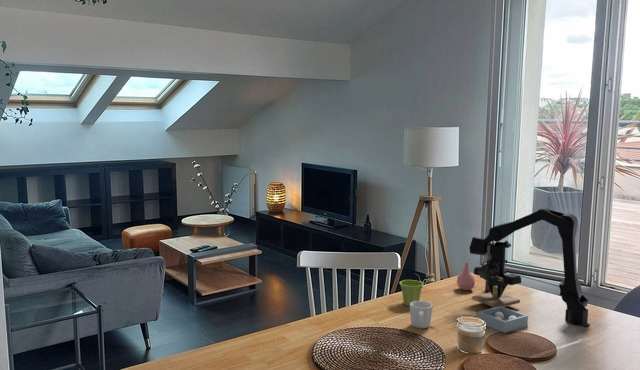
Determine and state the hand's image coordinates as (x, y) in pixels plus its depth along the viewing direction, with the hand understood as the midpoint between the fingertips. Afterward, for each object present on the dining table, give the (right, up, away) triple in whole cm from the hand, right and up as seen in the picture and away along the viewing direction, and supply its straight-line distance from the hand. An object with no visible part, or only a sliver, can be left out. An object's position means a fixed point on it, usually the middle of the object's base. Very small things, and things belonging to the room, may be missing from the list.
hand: (496, 296), depth 207 cm
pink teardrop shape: (-5, -2, +24) cm, 25 cm away
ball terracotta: (-6, -6, -20) cm, 22 cm away
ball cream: (0, -6, -19) cm, 20 cm away
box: (-4, -7, -18) cm, 20 cm away
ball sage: (-4, -6, -15) cm, 16 cm away
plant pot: (-32, -4, +5) cm, 33 cm away
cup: (-33, -7, -20) cm, 39 cm away
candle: (+7, -3, +22) cm, 23 cm away
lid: (0, -2, 0) cm, 2 cm away
